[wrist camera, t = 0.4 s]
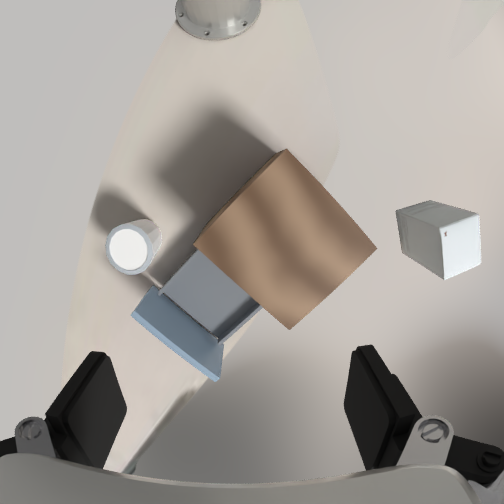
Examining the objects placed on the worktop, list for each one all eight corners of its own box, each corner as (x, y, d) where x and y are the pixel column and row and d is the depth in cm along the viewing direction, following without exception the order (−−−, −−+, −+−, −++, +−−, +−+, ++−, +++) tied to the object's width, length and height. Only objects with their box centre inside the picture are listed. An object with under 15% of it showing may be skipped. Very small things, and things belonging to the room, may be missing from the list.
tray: (209, 223, 42) (200, 237, 34) (283, 291, 45) (290, 319, 37) (149, 289, 45) (130, 315, 37) (219, 348, 48) (215, 381, 40)
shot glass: (171, 254, 45) (159, 270, 38) (131, 263, 45) (114, 279, 38) (159, 209, 43) (144, 218, 36) (118, 220, 43) (98, 230, 37)
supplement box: (400, 253, 45) (442, 282, 33) (394, 209, 43) (438, 226, 31) (436, 241, 45) (482, 265, 33) (431, 199, 43) (480, 212, 31)
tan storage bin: (276, 153, 41) (286, 148, 30) (347, 227, 44) (377, 248, 33) (206, 224, 44) (192, 244, 33) (280, 291, 47) (289, 330, 36)
